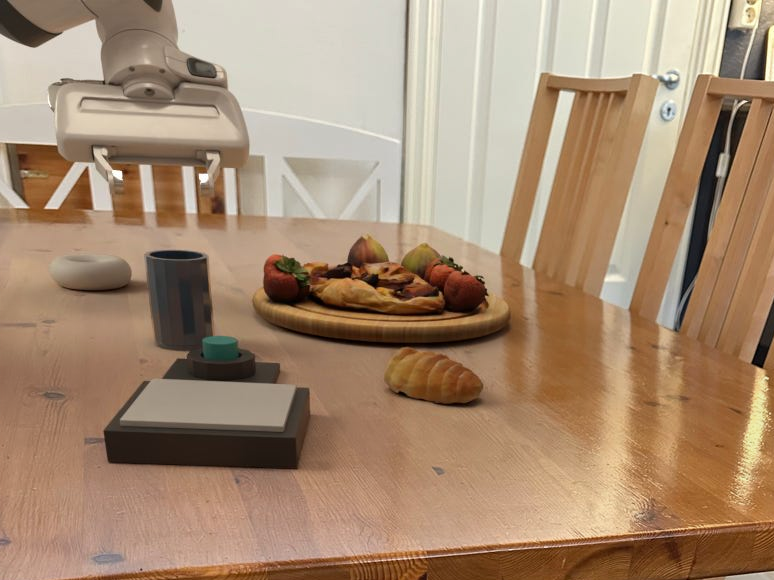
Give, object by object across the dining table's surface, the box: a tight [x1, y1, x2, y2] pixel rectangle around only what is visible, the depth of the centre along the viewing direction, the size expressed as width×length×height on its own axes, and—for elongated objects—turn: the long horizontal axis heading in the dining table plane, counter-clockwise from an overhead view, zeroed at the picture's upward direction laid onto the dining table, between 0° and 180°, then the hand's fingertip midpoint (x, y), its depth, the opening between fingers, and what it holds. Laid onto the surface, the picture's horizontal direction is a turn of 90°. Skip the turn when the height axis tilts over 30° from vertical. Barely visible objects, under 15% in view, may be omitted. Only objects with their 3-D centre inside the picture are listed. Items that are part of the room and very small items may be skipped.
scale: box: [102, 378, 311, 469], centre depth 75 cm, size 14×13×3 cm
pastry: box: [383, 346, 484, 405], centre depth 89 cm, size 9×7×4 cm
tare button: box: [202, 335, 239, 360], centre depth 88 cm, size 3×3×2 cm
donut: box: [49, 253, 133, 291], centre depth 121 cm, size 10×4×10 cm
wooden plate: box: [252, 234, 512, 344], centre depth 115 cm, size 32×32×8 cm
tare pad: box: [161, 347, 281, 384], centre depth 88 cm, size 10×8×2 cm
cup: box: [143, 249, 216, 352], centre depth 97 cm, size 6×6×9 cm
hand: (163, 192), depth 101 cm, fingers open, 8 cm apart
